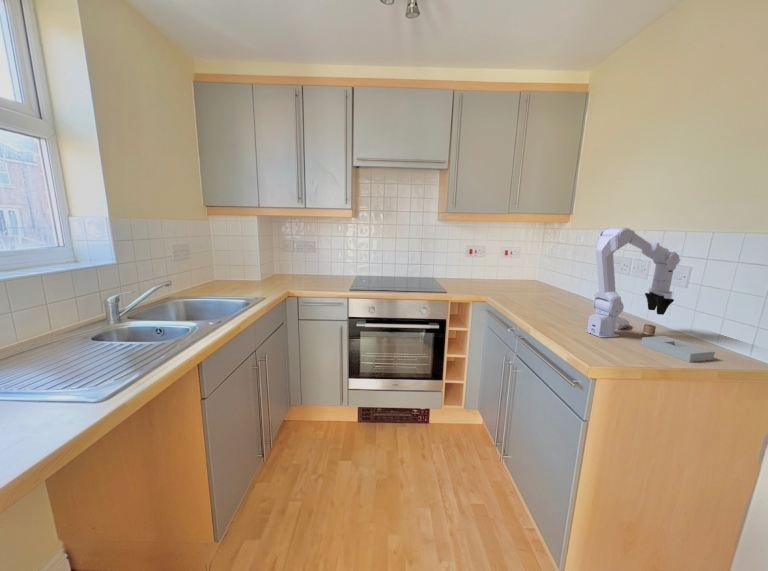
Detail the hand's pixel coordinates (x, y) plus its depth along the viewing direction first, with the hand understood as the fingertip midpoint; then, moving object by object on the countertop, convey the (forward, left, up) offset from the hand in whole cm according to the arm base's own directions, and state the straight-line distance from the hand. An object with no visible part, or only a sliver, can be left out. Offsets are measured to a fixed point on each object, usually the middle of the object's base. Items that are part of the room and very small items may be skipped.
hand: (655, 312), depth 132 cm
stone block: (-6, +12, -10) cm, 17 cm away
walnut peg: (-10, -6, -10) cm, 15 cm away
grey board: (-13, -18, -10) cm, 24 cm away
